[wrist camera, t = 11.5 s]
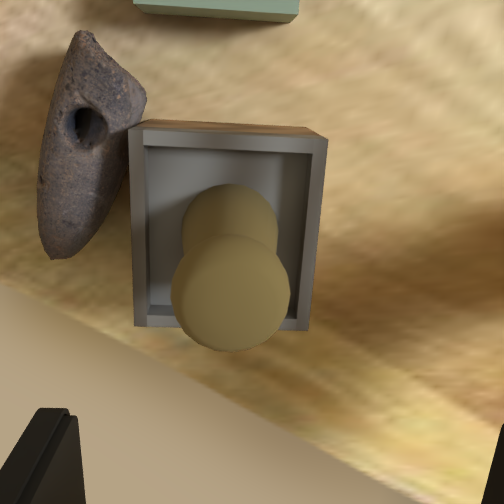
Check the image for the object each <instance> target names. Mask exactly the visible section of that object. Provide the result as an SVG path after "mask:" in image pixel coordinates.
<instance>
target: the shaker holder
mask: <svg viewBox="0 0 504 504" xmlns="http://www.w3.org/2000/svg"><path fill="white" fill-rule="evenodd" d="M133 4H135V5H136V6H137V7H138V8H139V9H140V10H142V11H143V12H144V13H150V14H165V15H180V16H195V17H210V18H225V19H240V20H255V21H270V22H285V23H290V22H291V21H292V20H293V19H294V18H295V17H296V16H297V15H298V12H299V0H133Z"/></svg>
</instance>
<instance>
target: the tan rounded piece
mask: <svg viewBox="0 0 504 504" xmlns="http://www.w3.org/2000/svg"><path fill="white" fill-rule="evenodd" d="M181 236H182V244H183V252H184V257H183V258H182V259H181V260H180V263H179V265H178V267H177V269H176V271H175V273H174V275H173V278H172V284H171V295H170V299H171V303H172V307H173V310H174V314H175V318H176V320H177V321H178V323H179V324H180V326H181V328H182V329H183V331H184V332H185V333H186V334H187V335H188V336H189V337H191V338H192V339H193V340H194V341H196V342H197V343H198V344H200V345H203V346H205V347H208V348H210V349H213V350H216V351H225V352H237V351H242V350H248V349H251V348H253V347H255V346H257V345H259V344H261V343H263V342H265V341H266V340H267V339H269V338H270V337H271V336H272V335H273V334H274V333H275V332H276V331H277V330H278V329H279V327H280V325H281V323H282V322H283V320H284V318H285V316H286V314H287V310H288V305H289V299H290V294H291V293H290V287H289V281H288V276H287V273H286V271H285V269H284V267H283V265H282V263H281V261H280V260H279V258H278V256H277V255H276V250H277V239H278V225H277V218H276V215H275V213H274V211H273V209H272V207H271V205H270V203H269V202H268V201H267V200H266V199H265V198H264V197H263V196H262V195H261V194H260V193H259V192H257V191H255V190H253V189H250V188H248V187H246V186H244V185H237V184H229V183H228V184H222V185H217V186H212V187H211V188H209V189H207V190H205V191H203V192H201V193H199V194H198V195H197V196H196V198H195V199H194V200H193V201H192V202H191V203H190V204H189V205H188V208H187V210H186V212H185V214H184V216H183V219H182V229H181Z"/></svg>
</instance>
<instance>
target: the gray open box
mask: <svg viewBox="0 0 504 504" xmlns="http://www.w3.org/2000/svg"><path fill="white" fill-rule="evenodd" d="M128 141H129V173H130V206H131V239H132V271H133V304H134V326H140V327H179V328H181V326H180V324H179V323H178V321H177V320H176V318H175V314H174V310H173V307H172V303H171V299H170V295H171V284H172V278H173V275H174V273H175V271H176V269H177V267H178V265H179V263H180V260H181V259H182V258H183V257H184V252H183V244H182V236H181V229H182V219H183V216H184V214H185V212H186V210H187V208H188V205H189V204H190V203H191V202H192V201H193V200H194V199H195V198H196V196H197V195H198V194H199V193H201V192H203V191H205V190H207V189H209V188H211V187H212V186H217V185H222V184H228V183H229V184H237V185H244V186H246V187H248V188H250V189H253V190H255V191H257V192H259V193H260V194H261V195H262V196H263V197H264V198H265V199H266V200H267V201H268V202H269V203H270V205H271V207H272V209H273V211H274V213H275V215H276V218H277V225H278V239H277V250H276V255H277V256H278V258H279V260H280V261H281V263H282V265H283V267H284V269H285V271H286V273H287V276H288V281H289V287H290V293H291V294H290V299H289V305H288V310H287V314H286V316H285V318H284V320H283V322H282V323H281V325H280V327H279V329H278V330H296V331H308V327H309V318H310V308H311V299H312V289H313V280H314V270H315V261H316V252H317V242H318V233H319V223H320V214H321V204H322V195H323V185H324V176H325V166H326V157H327V148H328V139H326V138H324V137H323V136H321V135H319V134H317V133H315V132H314V131H312V130H310V129H308V128H306V127H292V126H273V125H254V124H235V123H216V122H197V121H178V120H160V119H150V120H148V121H146V122H143V123H141V124H139V125H137V126H135V127H132V128H130V129H128Z"/></svg>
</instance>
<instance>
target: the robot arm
mask: <svg viewBox="0 0 504 504" xmlns="http://www.w3.org/2000/svg"><path fill="white" fill-rule="evenodd" d="M0 504H86V500H85V490H84V478H83V469H82V457H81V447H80V437H79V426H78V418H77V416H72V415H71V416H70V413H69V411H68V409H66V408H40V409H38V410H37V411H36V413H35V414H34V416H33V418H32V419H31V421H30V423H29V424H28V426H27V427H26V429H25V431H24V432H23V434H22V435H21V437H20V439H19V440H18V442H17V444H16V445H15V447H14V448H13V450H12V452H11V453H10V455H9V457H8V458H7V460H6V462H5V463H4V465H3V466H2V468H1V470H0ZM481 504H504V424H503V425H502V427H501V431H500V434H499V438H498V442H497V446H496V449H495V453H494V457H493V461H492V465H491V468H490V472H489V476H488V480H487V484H486V487H485V491H484V495H483V499H482V502H481Z"/></svg>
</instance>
